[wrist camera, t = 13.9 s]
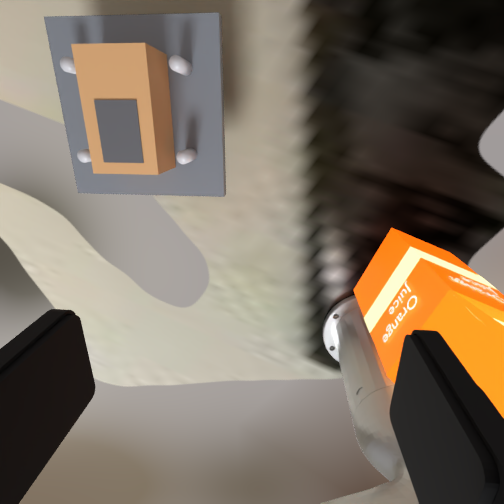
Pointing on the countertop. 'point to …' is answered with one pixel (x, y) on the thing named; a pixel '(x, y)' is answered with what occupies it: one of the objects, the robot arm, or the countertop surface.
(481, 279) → the orange juice
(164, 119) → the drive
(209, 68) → the pin tray
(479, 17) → the countertop surface
